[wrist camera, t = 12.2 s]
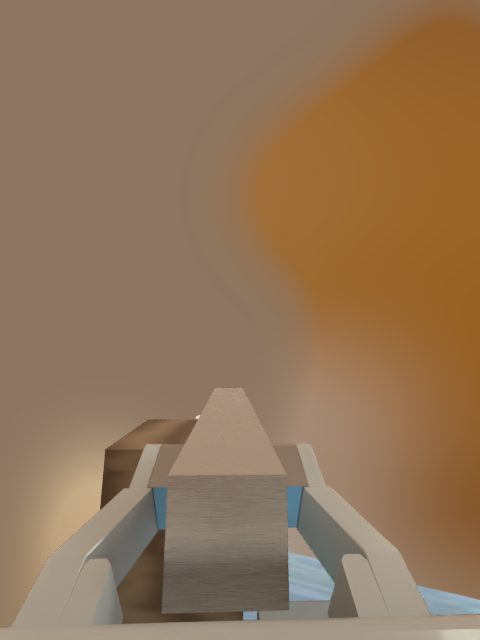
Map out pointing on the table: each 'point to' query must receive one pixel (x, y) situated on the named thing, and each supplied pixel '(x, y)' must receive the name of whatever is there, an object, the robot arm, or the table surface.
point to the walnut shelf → (147, 572)
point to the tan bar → (226, 515)
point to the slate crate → (298, 611)
